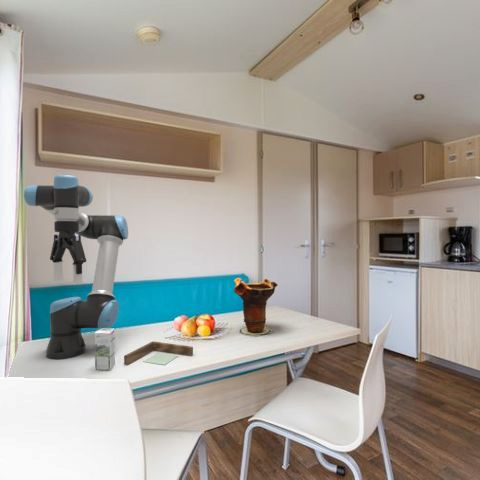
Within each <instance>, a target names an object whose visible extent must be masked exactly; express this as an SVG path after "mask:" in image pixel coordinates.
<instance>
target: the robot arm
mask: <svg viewBox="0 0 480 480" xmlns="http://www.w3.org/2000/svg"><path fill="white" fill-rule="evenodd" d="M79 184H80V183H79V179H78V177H77V176H75V175H72V174H71V175H68V174H59V175H58V174H57V175H55V176H54V178H53V185H41V184H39V185H38V184H35V185H28V186H27V187H25V189H24V191H23V199H24V202H25V203H26V204H27V205H28V206H31V207H32V206H33V207H41V208H42V209H44V210H45V211H46V212H48V213H49V214H51V215H52V216H54V217H53V218H54V223H53V224H54V229H53V230H54V232H55V233H58V234H54V235H53V243H52V247H51V250H50V251H51V252H50V257H49V260H50V261H52V263H53V281H54V282H57V281H63V276H64V275H63V262H64V261H63V256H64V254H65V252H66V250H68V252H69V254H70V256H71V259H72V261H73V263H72V284H73V285H79V284H83V264H84V263H87V258H86V254H85V251H84V247H83V244H82V237H83V238H85V239H89V240H96V241H97V243H98V244H99V248H98V253H97V258H96V264H95V270H94V276H93V283H92V288H91V292H89V293H88V294H87V295H86V300H82V298H81V297H80V296H73V297H65V298H61V299H57V300H55V301H53V302H51V304H50V309H49V319H50V320H49V324H50V338H49V340H48V344H47V346H46V349H45V350H46V351H45V356H46V358H48V359H51V360H62V359H69V358H73V357H76V356H79V355H82V354H84V353H85V352H86V351H87V348H86V347H87V346H86V342H85V340H84V337H83V334H82V329H110V328H111V327H112V326H113V325H114V324H115V323H116V321H117V318H118V315H119V307H120V306H119V302H118V301H117V300H116V296H115V295H114V294H113V291H114V283H115V277H116V271H117V262H118V256H119V249H120V247H121V246H122V245H123V243H124V240H127V239H128V237H129V228H128V227H129V226H128V222H127V219H126V217H124V216H123V215H117V214H114V215H111V214H110V215H109V214H108V215H105V214H104V215H101V214H100V215H99V214H96V215H94V214H91V215H90V214H86V213H83V212H79V211H80V209H79V208H80V207H82V208H83V207H87V206H89V205H90V204H91V203H92V201H93V198H94V197H93V196H94V195H93V193H92V191H91V190H90V189H89V188H87V187H86V186H84V185H83V186H82V185H79Z"/></svg>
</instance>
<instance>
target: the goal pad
mask: <svg viewBox="0 0 480 480" xmlns="http://www.w3.org/2000/svg"><path fill="white" fill-rule="evenodd" d="M178 357H179V356H178V355H176V354H170V353H167V354H166V353H163V352H157V353H155V354H153V355H151V356H150V357H148V358H146V359H145V360H143V361H142V362H143V363H148V364H154V365H161V366H166V365H167V364H168V363H171V362H172V361H174V359H176V358H178Z"/></svg>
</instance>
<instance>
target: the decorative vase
mask: <svg viewBox="0 0 480 480" xmlns="http://www.w3.org/2000/svg"><path fill="white" fill-rule="evenodd" d="M233 282H234V284H235V286H234V289H233V290H234V291H233V293H234V294H236V295H237V296H238V297H239V298H240V299H241V300H242V311H243V323H244V325H245V326H242V327H240V328H239V329H237V331H238V333H239V334H240V335H243V336H248V337H260V336H261V335H267V334H271V333H272V332H273V330H272V329H271V328H270V327H267V318H266V311H267V310H266V308H267V301H268V300H269V299H270V298H271V297H272V296H273V295H274V293H275V290H276V287H278V284H277V282H275V281H271V280H270V279H269V278H264V279H263V281H261V282H259V283H256V282H255V283H245V281H242V278H240V277H237V278H235V279H234V280H233ZM265 325H266V326H265Z"/></svg>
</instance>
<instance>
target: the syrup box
mask: <svg viewBox="0 0 480 480" xmlns="http://www.w3.org/2000/svg"><path fill="white" fill-rule="evenodd" d="M115 335H116V334H115V328H101V329H100V328H98V329H97V330H96V331H95V332H94V367H95V369H94V370H95V371H111V370H112V369H113V368H114V366H115V365H116V355H115V353H116V351H115V349H116V347H115V346H116V345H115V344H116V343H115V339H116V336H115Z"/></svg>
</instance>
